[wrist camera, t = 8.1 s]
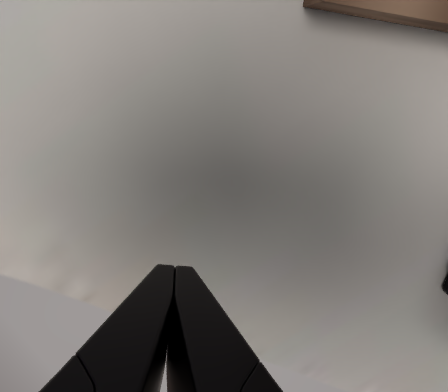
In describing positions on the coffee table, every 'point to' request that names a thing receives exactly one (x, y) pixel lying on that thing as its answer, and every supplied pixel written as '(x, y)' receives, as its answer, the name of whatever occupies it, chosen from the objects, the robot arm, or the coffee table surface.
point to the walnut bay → (391, 11)
